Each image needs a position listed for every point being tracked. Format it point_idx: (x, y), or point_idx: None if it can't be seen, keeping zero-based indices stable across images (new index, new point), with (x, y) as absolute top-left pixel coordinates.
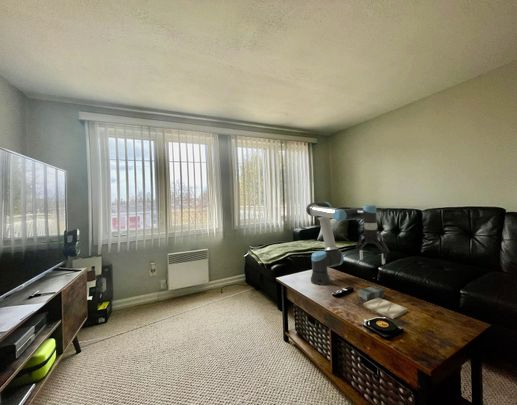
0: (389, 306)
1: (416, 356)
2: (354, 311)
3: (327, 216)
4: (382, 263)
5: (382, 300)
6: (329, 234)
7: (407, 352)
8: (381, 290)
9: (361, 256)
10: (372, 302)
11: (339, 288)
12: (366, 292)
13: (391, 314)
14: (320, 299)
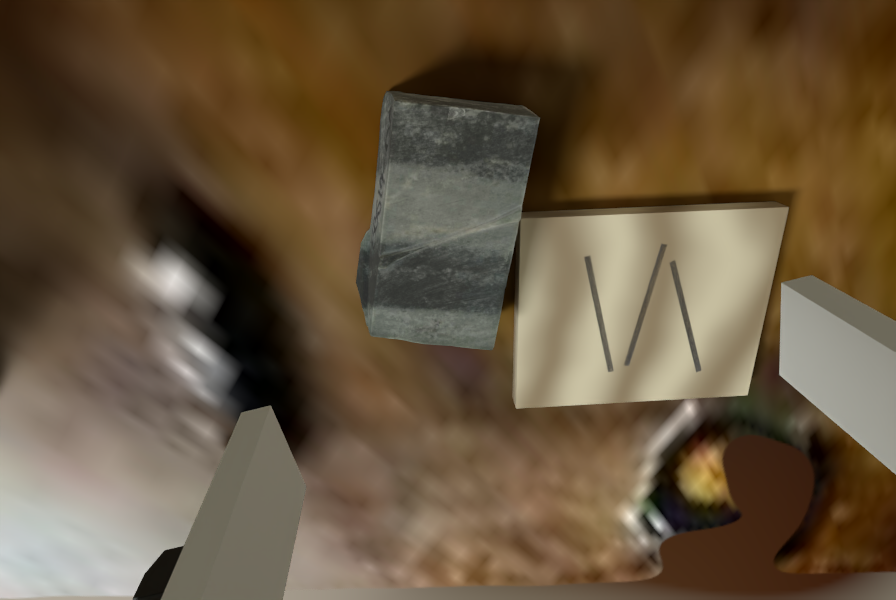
0: (674, 293)
1: None
2: (527, 497)
3: None
4: (800, 381)
5: (582, 242)
6: None
7: (880, 557)
8: (531, 159)
9: (281, 538)
10: (551, 344)
11: (132, 309)
12: (462, 319)
13: (734, 384)
14: None
